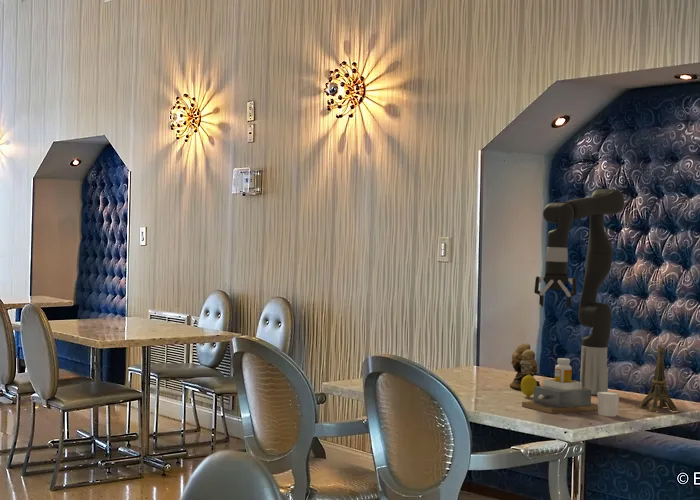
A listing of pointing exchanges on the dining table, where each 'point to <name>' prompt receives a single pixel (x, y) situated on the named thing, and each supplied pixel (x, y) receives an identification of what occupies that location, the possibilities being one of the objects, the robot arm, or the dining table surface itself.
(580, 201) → the robot arm
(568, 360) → the supplement bottle
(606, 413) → the white cup
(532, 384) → the lemon
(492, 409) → the dining table surface
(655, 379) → the eiffel tower
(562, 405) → the grey and brown box
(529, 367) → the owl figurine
